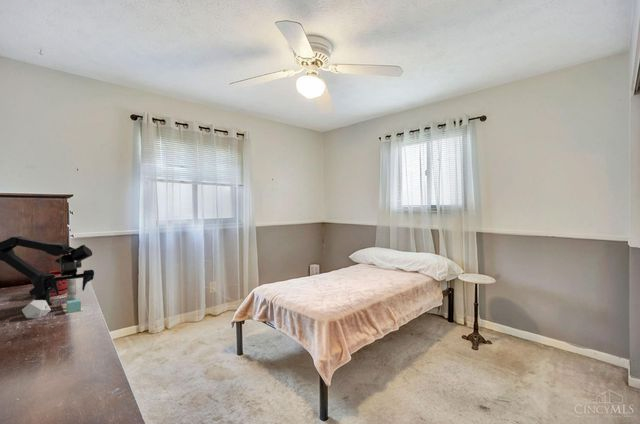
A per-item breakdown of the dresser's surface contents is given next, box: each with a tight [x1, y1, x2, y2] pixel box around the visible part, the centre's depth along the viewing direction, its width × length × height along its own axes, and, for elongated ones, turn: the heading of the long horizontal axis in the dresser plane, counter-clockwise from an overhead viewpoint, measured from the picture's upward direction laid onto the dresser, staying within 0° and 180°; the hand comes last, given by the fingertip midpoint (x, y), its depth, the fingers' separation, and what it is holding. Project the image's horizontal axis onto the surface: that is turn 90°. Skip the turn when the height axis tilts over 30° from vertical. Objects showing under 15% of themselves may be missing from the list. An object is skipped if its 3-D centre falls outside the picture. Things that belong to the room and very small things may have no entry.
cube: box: [66, 298, 82, 313], centre depth 133 cm, size 4×4×4 cm
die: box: [21, 299, 52, 319], centre depth 127 cm, size 8×9×10 cm
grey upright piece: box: [60, 279, 85, 316], centre depth 137 cm, size 20×6×14 cm, turn 47°
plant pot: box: [49, 270, 68, 297], centre depth 163 cm, size 13×13×12 cm
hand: (70, 292), depth 137 cm, fingers open, 9 cm apart
